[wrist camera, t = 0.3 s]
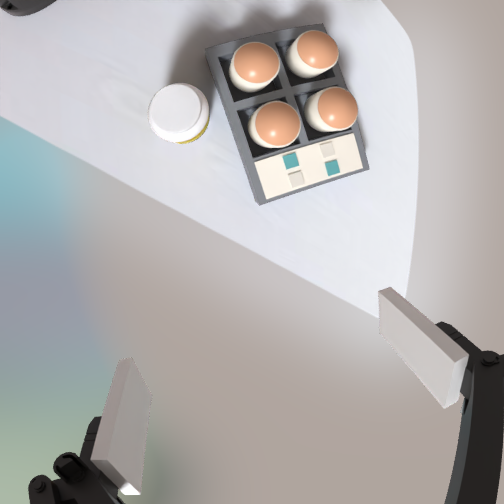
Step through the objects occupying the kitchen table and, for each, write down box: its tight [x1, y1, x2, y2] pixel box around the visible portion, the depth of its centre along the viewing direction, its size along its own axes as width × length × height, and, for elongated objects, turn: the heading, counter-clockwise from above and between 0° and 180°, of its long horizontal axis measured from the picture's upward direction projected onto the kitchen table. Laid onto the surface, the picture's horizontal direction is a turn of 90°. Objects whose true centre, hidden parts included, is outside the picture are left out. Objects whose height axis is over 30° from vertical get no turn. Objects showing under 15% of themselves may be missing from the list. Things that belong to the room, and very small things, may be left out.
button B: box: [285, 30, 339, 78], centre depth 31 cm, size 5×5×5 cm
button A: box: [229, 42, 280, 92], centre depth 31 cm, size 5×5×5 cm
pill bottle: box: [148, 83, 209, 144], centre depth 31 cm, size 6×6×11 cm
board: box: [205, 23, 369, 206], centre depth 36 cm, size 20×15×3 cm
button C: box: [248, 101, 301, 148], centre depth 33 cm, size 5×5×5 cm
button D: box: [304, 87, 358, 132], centre depth 34 cm, size 5×5×5 cm
